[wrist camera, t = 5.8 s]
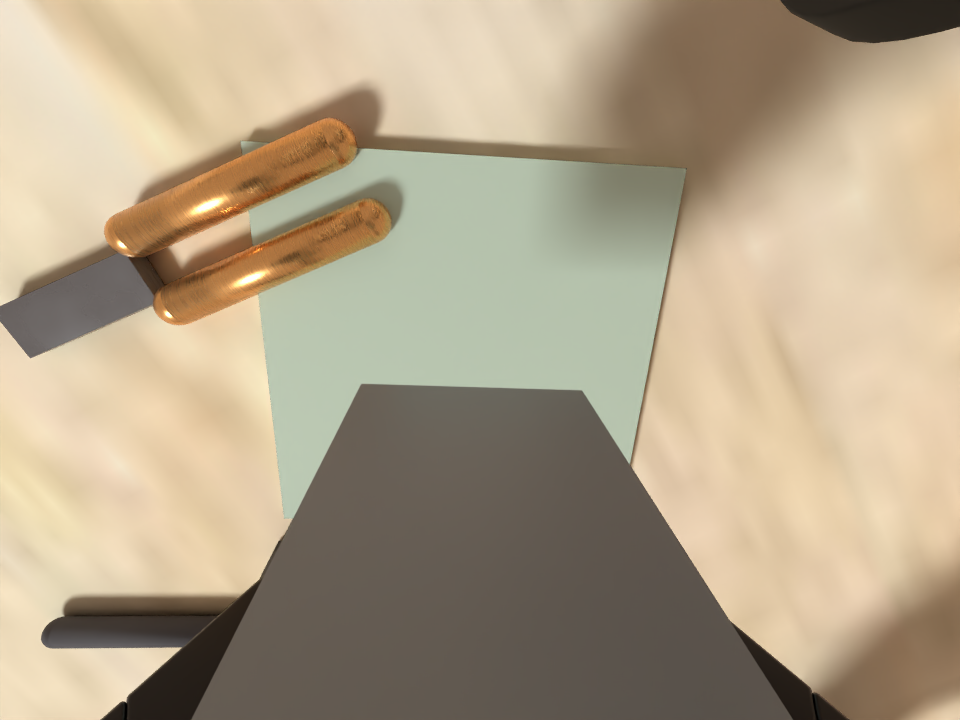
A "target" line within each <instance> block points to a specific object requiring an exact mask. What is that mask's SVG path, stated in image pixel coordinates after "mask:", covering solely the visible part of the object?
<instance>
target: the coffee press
mask: <svg viewBox="0 0 960 720" xmlns="http://www.w3.org/2000/svg"><path fill="white" fill-rule="evenodd" d="M781 2H782V3H783V4H784V5H785V7H786V8H787V9H788V10H789V11H790V12H791V13H793V14H794V15H796V16H798V17H800V18H802V19H804V20H806V21H808V22H810V23H812V24H814V25H816V26H818V27H820V28H822V29H824V30H826V31H828V32H830V33H832V34H834V35H837V36H839V37H842V38H844V39H847V40H849V41H853V42H867V43H880V42H888V41H897V40H905V39H910V38H914V37H919V36H924V35H928V34H933V33H937V32H942V31H945V30H949V29H953V28H956V27H960V0H781Z"/></svg>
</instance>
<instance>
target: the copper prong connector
mask: <svg viewBox="0 0 960 720" xmlns="http://www.w3.org/2000/svg"><path fill="white" fill-rule="evenodd" d="M356 152H357V142H356V138H355V135H354V133H353V131H352V130H351V129H350V127H349V126H348V125H346V124H345V123H344V122H342V121H340V120H338V119H335V118H324V119H321V120H319V121H317V122H315V123H312V124H310V125H308V126H306V127H304V128H302V129H299V130H297V131H295V132H293V133H291V134H288V135H286V136H284V137H282V138H280V139H278V140H275V141H273V142H271V143H269V144H267V145H265V146H262V147H260V148H258V149H256V150H254V151H252V152H249V153H247V154H245V155H243V156H241V157H239V158H236V159H234V160H232V161H230V162H228V163H226V164H223V165H221V166H219V167H217V168H215V169H212V170H210V171H208V172H206V173H204V174H202V175H199V176H197V177H195V178H193V179H191V180H189V181H186V182H184V183H182V184H180V185H178V186H176V187H173V188H171V189H169V190H167V191H165V192H163V193H160V194H158V195H156V196H154V197H152V198H150V199H147V200H145V201H143V202H141V203H139V204H137V205H134V206H132V207H130V208H128V209H126V210H123V211H121V212H119V213H117V214H115V215H113V216H112V217H110V218H109V220H108V221H107V222H106V225H105V228H104V234H105V238H106V240H107V242H108V244H109V245H110V246H111V247H112V248H113V249H114V250H115V251H117V252H118V253H117V254H115V255H112V256H110V257H108V258H106V259H104V260H101V261H99V262H97V263H95V264H92V265H90V266H88V267H86V268H84V269H81V270H79V271H77V272H75V273H73V274H70V275H68V276H66V277H64V278H61V279H59V280H57V281H55V282H53V283H50V284H48V285H46V286H44V287H42V288H39V289H37V290H35V291H33V292H30V293H28V294H26V295H24V296H22V297H19V298H17V299H15V300H13V301H11V302H8V303H6V304H4V305H2V306H0V322H1V323H2V324H3V325H4V327H5V328H6V329H7V330H8V332H9V333H10V334H11V335H12V336H13V338H14V339H15V340H16V341H17V343H18V344H19V345H20V346H21V347H22V349H23V350H24V351H25V352H26V354H27V355H28V356H29V357H30V358H32V357H35V356H37V355H40V354H42V353H45V352H48V351H50V350H52V349H55V348H57V347H59V346H62V345H64V344H66V343H68V342H71V341H73V340H75V339H78V338H80V337H82V336H84V335H87V334H89V333H91V332H94V331H96V330H98V329H101V328H103V327H105V326H107V325H110V324H112V323H114V322H117V321H119V320H121V319H123V318H126V317H128V316H130V315H133V314H135V313H137V312H139V311H142V310H144V309H146V308H149V307H151V306H153V307H154V310H155V312H156V314H157V315H158V316H159V317H160V318H161V319H162V320H164V321H165V322H167V323H170V324H173V325H186V324H189V323H192V322H194V321H197V320H199V319H201V318H204V317H206V316H208V315H211V314H213V313H215V312H218V311H220V310H222V309H225V308H227V307H229V306H232V305H234V304H236V303H239V302H241V301H243V300H246V299H248V298H250V297H253V296H255V295H257V294H259V293H262V292H264V291H266V290H269V289H271V288H273V287H276V286H278V285H280V284H283V283H285V282H287V281H290V280H292V279H294V278H297V277H299V276H301V275H304V274H306V273H308V272H311V271H313V270H315V269H318V268H320V267H322V266H325V265H327V264H329V263H332V262H334V261H336V260H339V259H341V258H343V257H346V256H348V255H350V254H353V253H355V252H357V251H360V250H362V249H364V248H367V247H369V246H371V245H374V244H376V243H378V242H380V241H382V240H383V239H385V238H386V237H387V235H388V234H389V232H390V230H391V226H392V219H391V215H390V212H389V210H388V209H387V208H386V206H385V205H384V204H383V203H381V202H380V201H378V200H376V199H373V198H363V199H360V200H357V201H355V202H353V203H350V204H348V205H346V206H344V207H341V208H339V209H337V210H334V211H332V212H330V213H328V214H325V215H323V216H321V217H319V218H316V219H314V220H312V221H310V222H307V223H305V224H303V225H300V226H298V227H296V228H294V229H291V230H289V231H287V232H285V233H282V234H280V235H278V236H275V237H273V238H271V239H269V240H266V241H264V242H262V243H260V244H257V245H255V246H253V247H250V248H248V249H246V250H244V251H241V252H239V253H237V254H235V255H232V256H230V257H228V258H225V259H223V260H221V261H219V262H216V263H214V264H212V265H210V266H207V267H205V268H203V269H200V270H198V271H196V272H194V273H191V274H189V275H187V276H185V277H182V278H180V279H178V280H175V281H173V282H171V283H169V284H166V285H164V284H163V282H162V281H161V279H160V277H159V276H158V274H157V273H156V271H155V270H154V268H153V267H152V265H151V264H150V262H149V261H148V259H147V258H146V256H148V255H151V254H153V253H155V252H157V251H160V250H162V249H164V248H166V247H168V246H171V245H173V244H175V243H177V242H180V241H182V240H184V239H186V238H189V237H191V236H193V235H195V234H197V233H200V232H202V231H204V230H206V229H209V228H211V227H213V226H215V225H218V224H220V223H222V222H224V221H226V220H229V219H231V218H233V217H235V216H238V215H240V214H242V213H244V212H247V211H249V210H251V209H253V208H255V207H258V206H260V205H262V204H264V203H267V202H269V201H271V200H273V199H276V198H278V197H280V196H282V195H284V194H287V193H289V192H291V191H293V190H296V189H298V188H300V187H302V186H305V185H307V184H309V183H311V182H313V181H316V180H318V179H320V178H322V177H325V176H327V175H329V174H331V173H334V172H336V171H338V170H340V169H342V168H345V167H346V166H348V165H349V164H350V163H351V162H352V161H353V160H354V158H355V156H356Z"/></svg>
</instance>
